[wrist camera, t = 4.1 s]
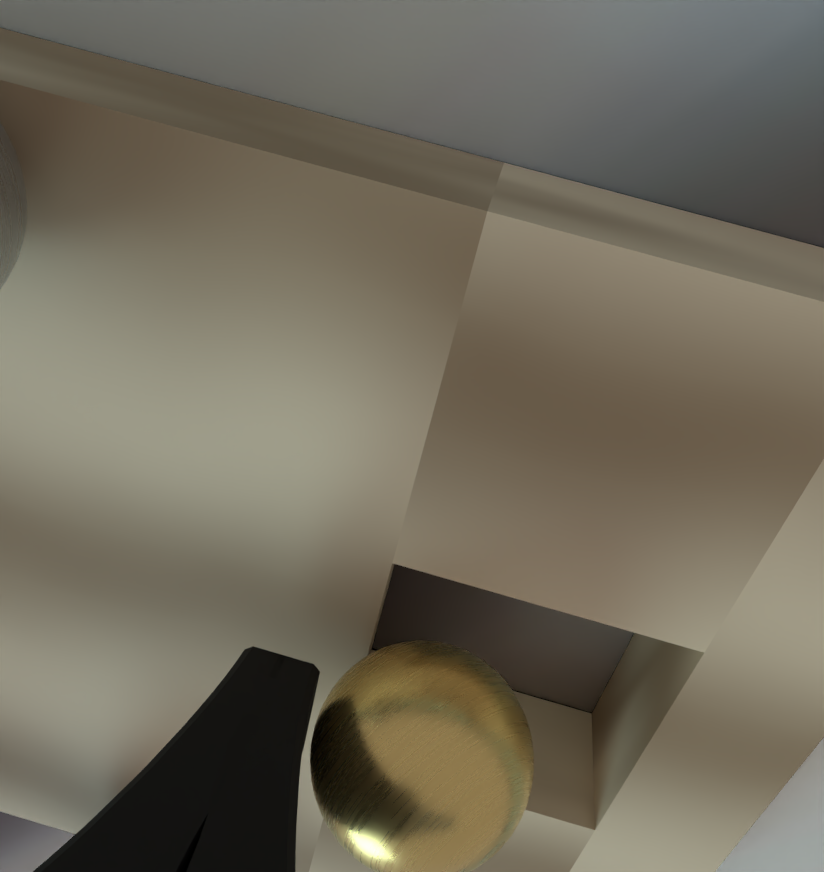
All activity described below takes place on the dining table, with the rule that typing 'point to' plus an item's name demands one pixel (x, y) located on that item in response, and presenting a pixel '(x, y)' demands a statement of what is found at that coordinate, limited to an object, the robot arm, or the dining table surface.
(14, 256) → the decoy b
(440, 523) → the plate
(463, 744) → the ball
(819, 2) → the dining table surface
